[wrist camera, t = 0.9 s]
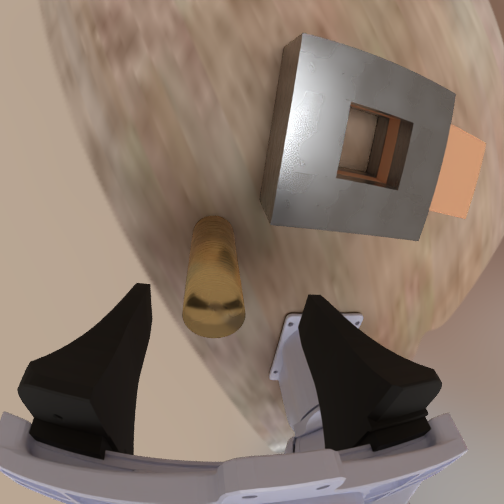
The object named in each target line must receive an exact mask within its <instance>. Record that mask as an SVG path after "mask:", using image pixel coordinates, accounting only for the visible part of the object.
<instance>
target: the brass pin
mask: <svg viewBox="0 0 504 504" xmlns="http://www.w3.org/2000/svg"><path fill="white" fill-rule="evenodd" d="M182 315H183V320H184V323H185V324H186V326H187V327H188V328H189V329H190V330H191V331H192V332H194V333H196V334H197V335H200V336H203V337H207V338H221V337H225V336H228V335H231V334H233V333H234V332H236V331H237V330H238V329H239V328H240V327H241V326H242V324H243V322H244V320H245V307H244V301H243V294H242V287H241V280H240V274H239V267H238V260H237V253H236V246H235V239H234V232H233V228H232V226H231V224H230V223H229V222H228V221H227V220H226V219H224V218H222V217H220V216H207V217H204V218H202V219H201V220H200V221H198V222H197V224H196V225H195V227H194V230H193V236H192V243H191V249H190V257H189V264H188V271H187V279H186V287H185V295H184V304H183V313H182Z"/></svg>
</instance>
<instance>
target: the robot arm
mask: <svg viewBox="0 0 504 504" xmlns="http://www.w3.org/2000/svg"><path fill="white" fill-rule="evenodd" d="M362 320H363V315H362V314H360V313H352V314H341V313H340V312H339V311H338V310H337V309H336V308H335V307H333V306H332V305H331V304H330V303H329V302H328V301H327V300H326V299H325V298H324V297H322V296H321V295H308V298H307V301H306V304H305V307H304V310H303V313H302V314H289V315H287V316H286V319H285V322H284V326H283V330H282V333H281V337H280V340H279V343H278V347H277V350H276V354H275V357H274V360H273V364H272V367H271V370H270V374H269V379H271V380H278V381H279V385H280V389H281V394H282V398H283V403H284V407H285V411H286V416H287V420H288V423H289V425H290V427H291V428H292V429H293V430H294V432H295V436H294V437H292V438H290V439H289V441H288V442H287V445H286V449H285V453H284V454H276V455H263V456H249V457H240V458H234V459H231V460H228V461H225V462H200V461H182V460H169V459H159V458H150V457H142V456H135V455H134V454H133V452H134V447H133V445H134V443H133V442H134V421H135V409H136V398H137V389H138V382H139V377H140V373H141V369H142V365H143V362H144V358H145V354H146V350H147V346H148V342H149V339H150V331H151V325H152V308H151V290H150V284H142V283H137V284H135V285H134V286H133V288H132V289H131V290H130V291H129V292H128V293H127V294H126V296H125V297H124V298H123V299H122V300H121V301H120V302H119V303H118V304H117V305H116V306H115V307H114V308H113V310H112V311H110V312H109V313H108V314H107V315H106V316H105V317H104V318H103V319H102V320H101V321H100V322H99V323H97V324H96V325H95V326H94V327H93V328H91V329H90V330H89V331H88V332H86V333H85V334H84V335H82V336H81V337H79V338H77V339H76V340H74V341H73V342H71V343H70V344H68V345H66V346H64V347H63V348H61V349H59V350H57V351H55V352H53V353H51V354H49V355H47V356H44V357H41V358H39V359H37V360H34V361H31V362H30V363H29V365H28V367H27V369H26V370H25V373H24V375H23V377H22V380H21V382H20V385H19V387H18V394H19V397H20V398H21V400H22V402H23V403H24V404H25V406H26V407H27V409H28V410H29V411H30V413H31V414H32V415H33V417H34V419H33V422H32V424H31V423H30V422H28V421H27V420H25V419H23V418H20V417H18V416H15V415H12V414H10V413H8V412H3V414H2V417H1V420H0V471H1V472H2V473H4V474H5V475H6V476H8V477H9V478H10V479H12V480H13V481H15V482H16V483H18V484H19V485H22V486H24V487H26V488H28V489H31V490H33V491H35V492H38V493H40V494H43V495H45V496H47V497H50V498H53V499H55V500H58V501H61V502H64V503H66V504H410V503H409V499H410V498H411V497H412V495H413V494H414V492H415V491H416V490H417V488H418V486H419V485H420V484H421V482H422V481H423V480H425V479H427V478H429V477H432V476H434V475H436V474H437V473H439V472H440V471H442V470H443V469H445V468H446V467H447V466H449V465H450V464H452V463H453V462H454V461H456V460H457V459H458V458H460V457H461V456H462V455H463V454H465V453H466V452H467V451H468V448H467V446H466V444H465V442H464V440H463V438H462V436H461V434H460V432H459V430H458V429H457V427H456V425H455V423H454V421H453V419H452V418H451V416H450V414H449V413H445V414H442V415H439V416H437V417H434V418H432V419H431V420H429V421H427V419H426V417H425V416H427V415H428V412H427V410H426V407H427V406H428V405H429V404H430V402H431V401H432V400H433V399H434V398H435V397H436V396H437V394H438V393H439V391H440V389H441V387H442V382H441V380H440V379H439V377H438V375H437V374H436V372H435V371H434V369H431V368H428V367H425V366H423V365H419V364H417V363H414V362H412V361H410V360H408V359H405V358H403V357H401V356H399V355H397V354H395V353H394V352H392V351H390V350H388V349H386V348H385V347H383V346H382V345H380V344H379V343H377V342H376V341H374V340H373V339H371V338H370V337H368V336H367V335H366V334H364V333H363V332H362V331H361V330H359V327H360V325H361V322H362ZM290 322H292V323H290ZM288 323H290V324H288Z"/></svg>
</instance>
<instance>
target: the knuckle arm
mask: <svg viewBox="0 0 504 504" xmlns="http://www.w3.org/2000/svg"><path fill="white" fill-rule="evenodd" d="M350 106H352V107H356V108H359V109H363V110H366V111H369V112H373V113H376V114H379V115H382V116H385V117H388V118H390V119H389V124H388V129H387V134H386V139H385V143H384V148H383V152H382V157H381V161H380V165H379V170H378V174H377V178H374V177H369V176H365V175H360V174H355V173H350V172H345V171H340V170H337V174H342V175H347V176H352V177H357V178H362V179H367V180H372V181H376V182H381V183H385V184H386V183H387V179H388V175H389V171H390V167H391V163H392V158H393V154H394V150H395V145H396V141H397V136H398V131H399V126H400V121H401V120H399V119H396V118H393V117H390V116H387V115H384V114H381V113H378V112H375V111H372V110H369V109H366V108H362V107H359V106H356V105H352V104H351V105H350ZM485 146H486V143H485V142H483V141H481V140H479V139H478V138H476V137H474V136H472V135H470V134H469V133H467V132H465V131H463V130H461V129H459V128H457V127H455V126H453V125H451V126H450V131H449V136H448V141H447V145H446V150H445V154H444V158H443V162H442V166H441V170H440V174H439V178H438V181H437V185H436V189H435V192H434V195H433V199H432V202H431V205H430V208H429V210H430V211H434V212H439V213H443V214H447V215H451V216H455V217H459V218H463V219H466V216H467V213H468V210H469V207H470V203H471V200H472V197H473V194H474V190H475V187H476V183H477V180H478V176H479V172H480V168H481V164H482V160H483V156H484V151H485Z"/></svg>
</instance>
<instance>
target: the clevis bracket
mask: <svg viewBox="0 0 504 504" xmlns="http://www.w3.org/2000/svg"><path fill="white" fill-rule="evenodd" d="M455 95H456V94H455V93H453V92H451V91H450V90H448V89H446V88H444V87H442V86H441V85H439V84H437V83H435V82H433V81H431V80H429V79H427V78H425V77H423V76H421V75H419V74H417V73H415V72H413V71H411V70H409V69H407V68H404V67H402V66H400V65H398V64H395V63H393V62H391V61H388V60H386V59H383V58H381V57H378V56H376V55H373V54H370V53H368V52H365V51H362V50H359V49H356V48H353V47H350V46H347V45H344V44H341V43H338V42H335V41H331V40H328V39H324V38H321V37H317V36H313V35H309V34H305V33H302V34H301V35H299V36H298V37H297V38H295V39H294V40H293V41H291V42H290V43H289V44H288V45H286V46H285V47H284V50H283V56H282V62H281V69H280V75H279V81H278V88H277V94H276V100H275V106H274V113H273V119H272V125H271V131H270V138H269V144H268V150H267V156H266V163H265V169H264V175H263V182H262V188H261V194H260V202H261V204H262V206H263V209H264V211H265V213H266V216H267V218H268V220H269V223H270V225H277V226H287V227H298V228H308V229H318V230H327V231H337V232H346V233H355V234H364V235H372V236H381V237H389V238H397V239H405V240H413V241H419V238H420V235H421V232H422V229H423V227H424V224H425V221H426V218H427V215H428V212H429V208H430V205H431V202H432V199H433V195H434V192H435V189H436V185H437V181H438V178H439V174H440V170H441V166H442V162H443V158H444V154H445V150H446V145H447V141H448V136H449V131H450V126H451V120H452V115H453V109H454V102H455ZM351 104H352V105H356V106H359V107H362V108H366V109H369V110H372V111H375V112H378V113H381V114H384V115H387V116H390V117H393V118H396V119H399V120H401V121H400V126H399V131H398V136H397V141H396V145H395V150H394V154H393V158H392V163H391V167H390V171H389V175H388V179H387V183H386V184H385V183H381V182H376V181H372V180H367V179H362V178H357V177H352V176H347V175H342V174H337V170H340V171H345V172H350V173H355V174H360V175H365V176H369V177H374V178H377V174H378V170H379V165H380V161H381V157H382V152H383V148H384V143H385V139H386V134H387V129H388V124H389V119H390V118H388V117H385V116H382V115H379V114H376V113H373V112H369V111H366V110H363V109H359V108H356V107H352V106H350V105H351ZM350 108H353V109H357V110H360V111H363V112H367V113H370V114H373V115H376V116H378V121H377V126H376V131H375V136H374V141H373V145H372V150H371V155H370V159H369V163H368V168H367V172H362V171H358V170H353V169H348V168H343V167H338V165H339V161H340V156H341V151H342V146H343V142H344V137H345V131H346V126H347V121H348V116H349V110H350Z"/></svg>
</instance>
